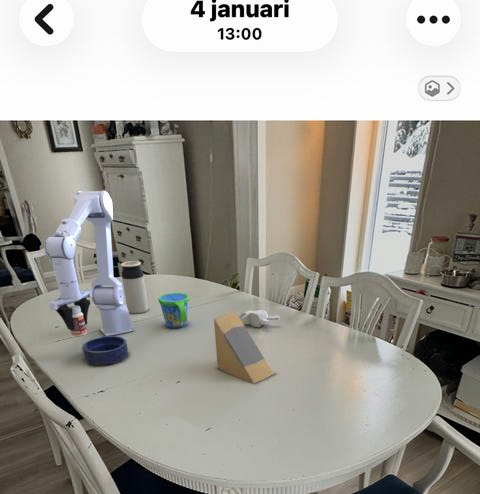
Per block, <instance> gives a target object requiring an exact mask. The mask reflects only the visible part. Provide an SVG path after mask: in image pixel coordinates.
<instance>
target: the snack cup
mask: <svg viewBox="0 0 480 494" xmlns="http://www.w3.org/2000/svg"><path fill="white" fill-rule="evenodd" d="M189 302H190V297H189V295H188V294H186V293H184V292H183V293H182V292H172V293H171V292H170V293H166V294H165V293H164V294H163V295H160V296H159V297H158V303H159V305H160V308H161V311H162V315H163V319H164V322H165V325H166V326H167V327H169V328H170V329H179V328H180V329H181V328H183V327H185V326H186V325H188V313H189V312H188V310H189Z"/></svg>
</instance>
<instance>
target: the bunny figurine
mask: <svg viewBox="0 0 480 494" xmlns="http://www.w3.org/2000/svg"><path fill="white" fill-rule="evenodd" d="M238 316H239V317H240V319H241V321H242V323H243V324H244V325H250V326H252V327H255V328H261V326H267V325H269V324H270V321H271V320H273V321H279V320H281V317H280V316H279V315H269V314H268V312H267V310H264V309H258V310H253V309H250V310H247V311H244V312H242V313H240V314H238Z"/></svg>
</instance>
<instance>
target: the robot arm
mask: <svg viewBox="0 0 480 494" xmlns="http://www.w3.org/2000/svg"><path fill="white" fill-rule="evenodd" d="M73 204H74V206H73V208H72V210H71V213H70V215H69V216H68V218H62V219H61V222H60V224H59V226H58V227H57V229H56V231H55V233H54V234H53V235H52V236H49V237H47V239H45V241H44V249H43V251H44V253H45V255H46V257H47V258H48V260H49V264H50V265H51V266H52V268H53V272H54V275H55V276H54V277H55V279H56V285H57V288H58V292H59V297H58V298H56V299H54V300H52V301H50V302H48V305H49V308H50V310H53V311H55V312H56V313H57V314H58V315H59V316H60V318H61V319H62V320H63V322H64V324H65V326H66V328H67V330H74V323H73V317H72V310H73V308H69V305H71V304H73V306H74V305H78V306H80V308H81V312H82V313H83V316H84V321H85V325H86V326H87V325H88V316H89V315H88V314H89V310H90V305H91V301H92V303H93V304H94V305H95V306H96V308H97V309H99V310H98V311H99V315H100V321H101V325H102V328H100V331H101V332H102V333H103V334H104V336H117V335H121V334H125V333H126V334H127V333H130V332H133V328H132V322H131V316H130V312H129V311H128V308H127V304H125V303H124V302H125V291H124V288H123V282H121V281H120V280H118V279H117V278H116V277H114V261H113V259H114V258H113V244H112V231H111V230H112V228H111V222H112V221H113V220H114V210H113V209H114V208H113V207H114V206H113V200H112V198H111V195H110V194H109V193H108V191H107V190H94V191H93V190H91V191H90V190H89V191H86V190H85V191H84V190H83V191H82V190H78V191H76V192H75V195H74V196H73ZM86 220H87V221H88V222H91V223H92V224H93V228H94V240H95V241H94V243H95V255H96V270H97V271H96V272H97V277H96V278H95V279H94V280H93V281H92V282H91V290H90V289H85V290H80V286H79V285H80V284H79V280H78V276H77V273H76V267H75V262H74V259H73V258H74V257H75V255H76V246H77V241H78V239H79V238H80V236H81V234H82V228H81V226H82V224H83V223H84V222H85V221H86ZM88 298H91V300H90V299H88Z"/></svg>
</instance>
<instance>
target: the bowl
mask: <svg viewBox="0 0 480 494" xmlns="http://www.w3.org/2000/svg"><path fill="white" fill-rule="evenodd" d="M81 351H82V355H83V360H84V361H85V362H86V363H87V364H90V365H91V364H92V365H97V366H98V365H99V366H101V365H102V366H104V365H111V364H115V363H118V362H121V361H123V360H124V359H126V358H127V357H128V356H129V349H128V342H127V340H126V338H124V337H121V336H117V335H112V336H106V335H104V336H99V337H95V338H92V339H88V340H86V341H85V342H83V344H82V345H81Z"/></svg>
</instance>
